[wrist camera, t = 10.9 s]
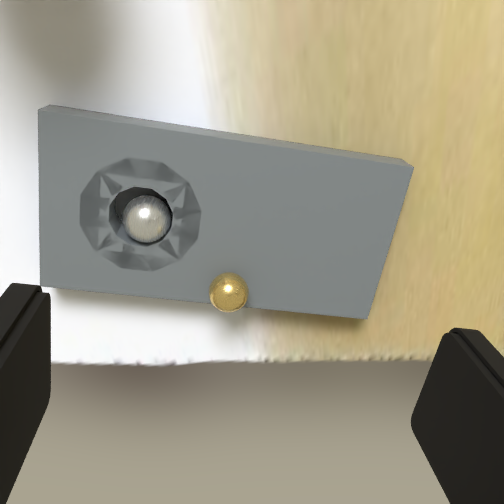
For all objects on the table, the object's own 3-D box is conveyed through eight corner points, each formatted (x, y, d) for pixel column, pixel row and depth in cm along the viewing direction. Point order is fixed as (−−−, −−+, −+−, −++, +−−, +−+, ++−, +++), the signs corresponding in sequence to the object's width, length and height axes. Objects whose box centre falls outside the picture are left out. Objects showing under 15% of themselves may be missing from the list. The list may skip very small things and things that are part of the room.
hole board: (401, 159, 37) (414, 167, 35) (358, 303, 42) (367, 319, 40) (49, 104, 33) (38, 109, 31) (49, 271, 38) (40, 286, 36)
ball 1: (167, 209, 33) (118, 198, 33) (161, 254, 34) (113, 244, 34) (178, 195, 36) (133, 185, 36) (171, 237, 38) (128, 227, 38)
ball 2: (250, 267, 37) (253, 286, 34) (243, 301, 38) (246, 321, 35) (211, 263, 36) (211, 281, 34) (206, 297, 38) (206, 318, 35)
